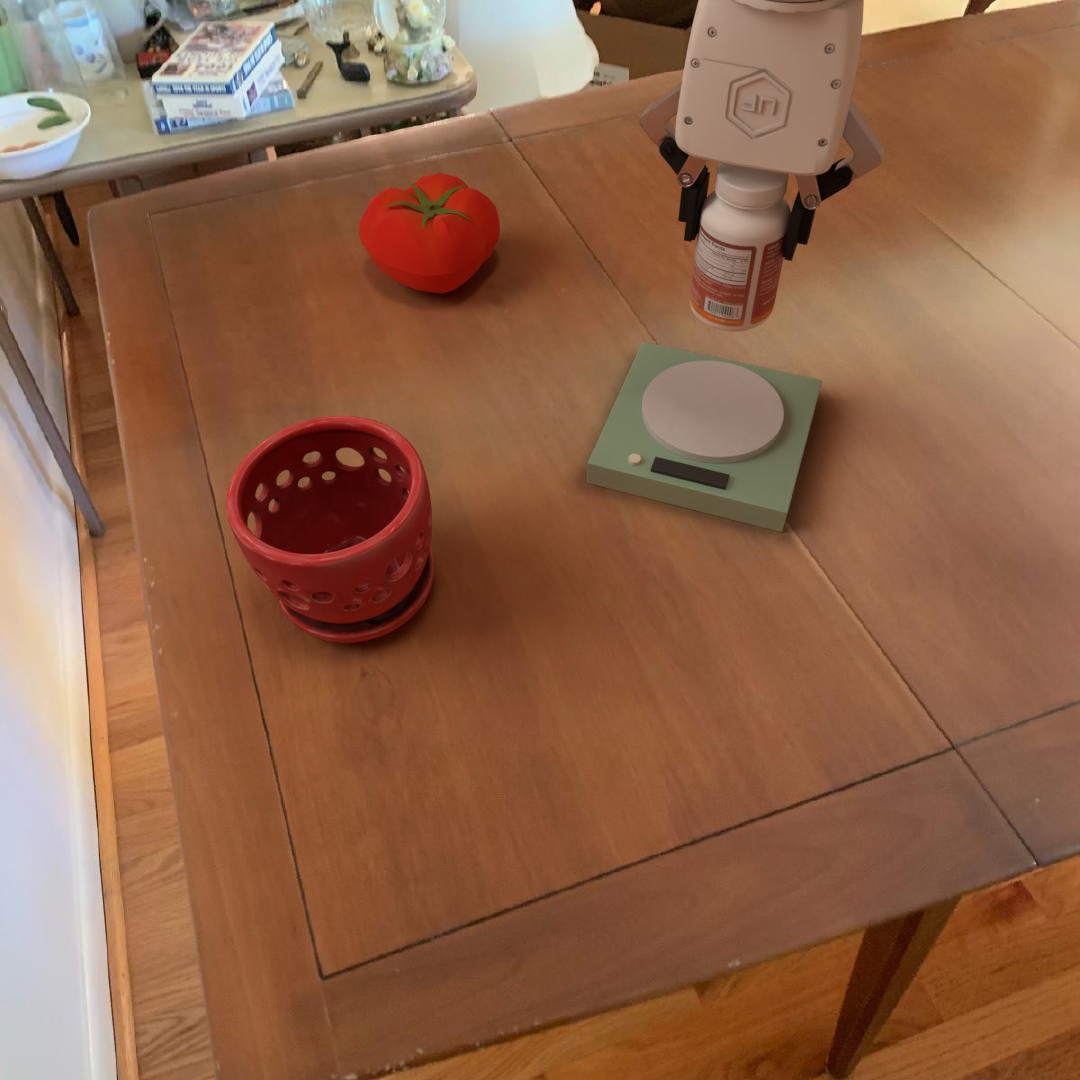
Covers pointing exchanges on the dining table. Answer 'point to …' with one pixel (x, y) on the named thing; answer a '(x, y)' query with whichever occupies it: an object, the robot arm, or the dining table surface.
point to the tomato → (430, 232)
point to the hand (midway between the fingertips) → (741, 238)
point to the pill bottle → (740, 248)
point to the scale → (707, 435)
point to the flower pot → (337, 527)
